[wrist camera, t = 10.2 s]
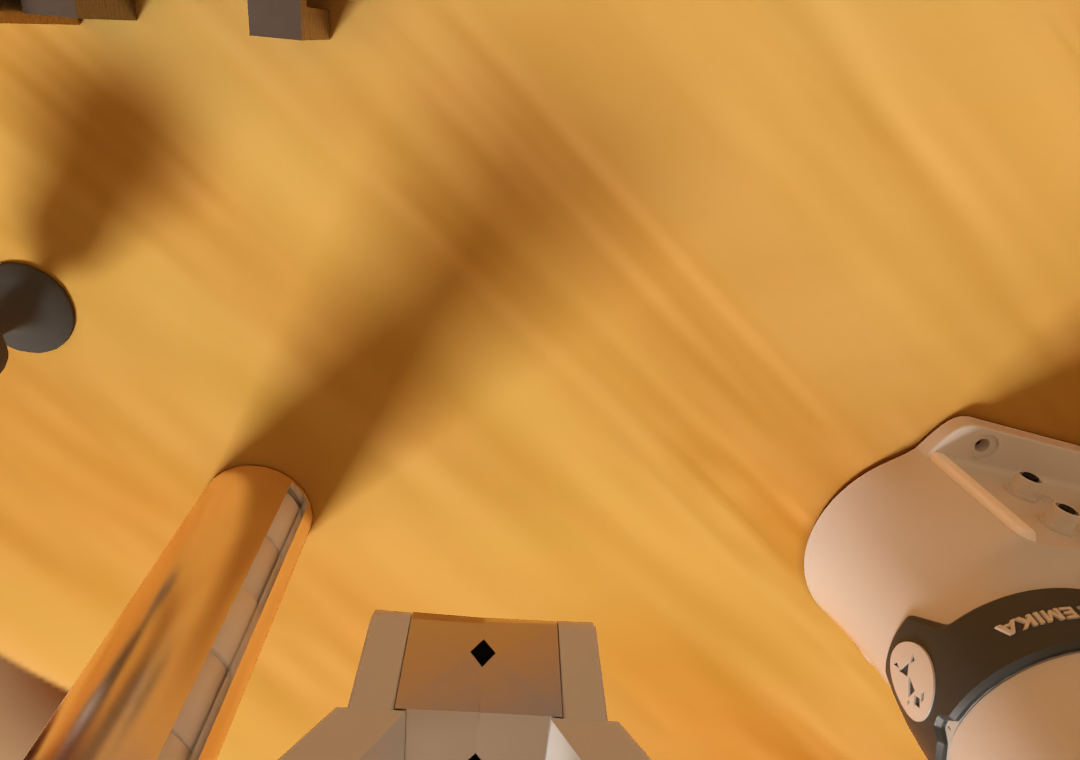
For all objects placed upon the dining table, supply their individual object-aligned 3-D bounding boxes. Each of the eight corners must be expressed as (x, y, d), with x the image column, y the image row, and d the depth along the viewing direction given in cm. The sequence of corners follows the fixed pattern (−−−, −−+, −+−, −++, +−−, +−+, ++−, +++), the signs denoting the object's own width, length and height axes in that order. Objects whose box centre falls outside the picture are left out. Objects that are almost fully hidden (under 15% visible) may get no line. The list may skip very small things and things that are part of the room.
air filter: (194, 462, 43) (-162, 946, 20) (308, 465, 43) (84, 943, 20) (210, 553, 45) (-88, 1068, 23) (317, 554, 46) (128, 1064, 23)
